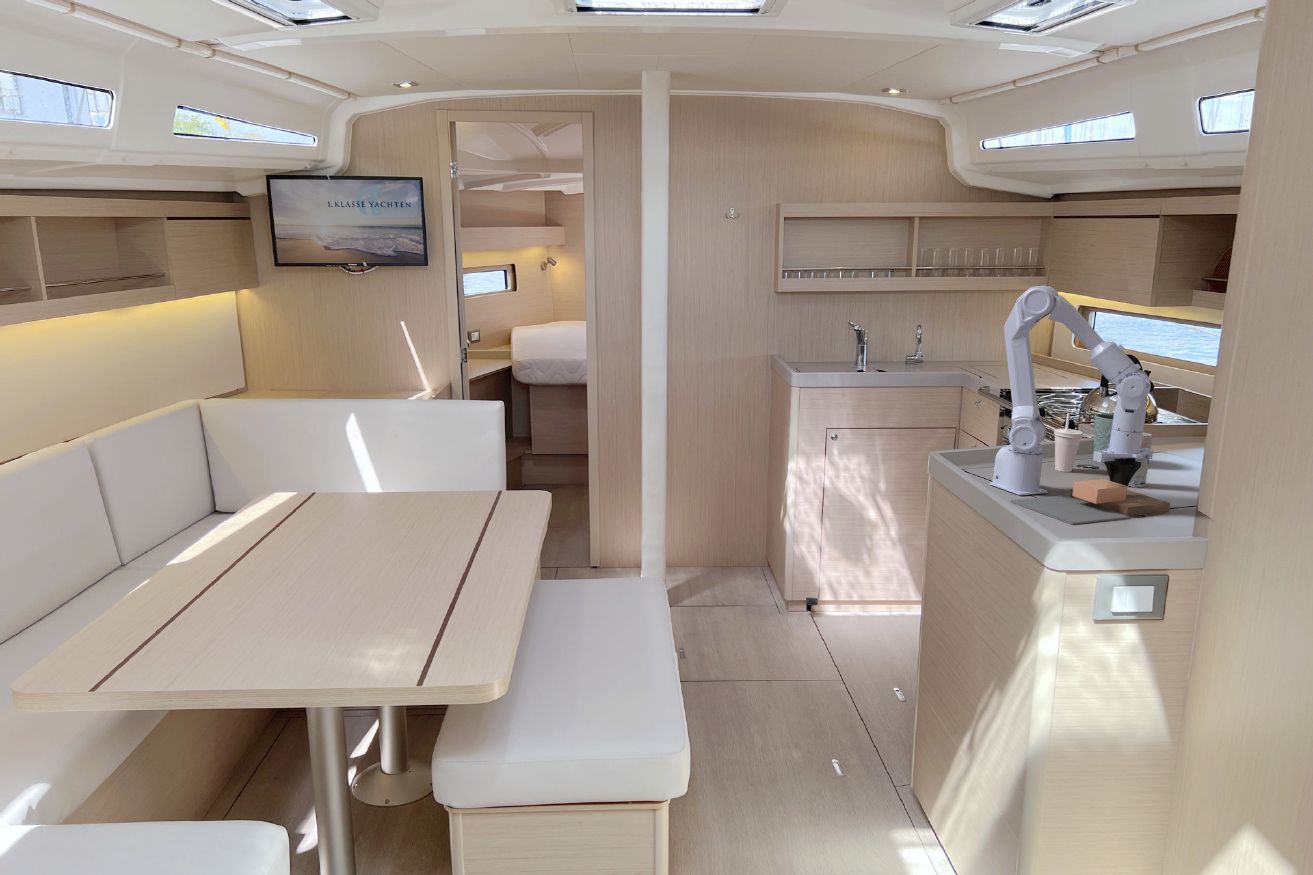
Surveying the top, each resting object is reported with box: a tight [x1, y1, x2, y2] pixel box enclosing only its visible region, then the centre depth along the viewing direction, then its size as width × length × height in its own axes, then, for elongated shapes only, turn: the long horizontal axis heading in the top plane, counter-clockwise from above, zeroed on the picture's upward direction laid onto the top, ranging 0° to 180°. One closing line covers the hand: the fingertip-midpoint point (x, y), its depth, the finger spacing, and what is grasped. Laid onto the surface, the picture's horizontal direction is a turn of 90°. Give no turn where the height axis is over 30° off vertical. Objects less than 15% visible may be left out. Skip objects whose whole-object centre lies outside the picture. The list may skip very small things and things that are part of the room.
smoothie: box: [1053, 412, 1084, 473], centre depth 213 cm, size 6×6×14 cm
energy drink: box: [1128, 431, 1153, 488], centre depth 201 cm, size 5×5×12 cm
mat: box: [1010, 494, 1130, 526], centre depth 180 cm, size 16×15×1 cm
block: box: [1072, 478, 1128, 504], centre depth 182 cm, size 6×8×3 cm
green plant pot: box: [1092, 412, 1114, 458], centre depth 223 cm, size 10×10×12 cm
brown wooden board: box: [1069, 488, 1171, 518], centre depth 185 cm, size 14×12×2 cm
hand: (1117, 493), depth 184 cm, fingers closed
